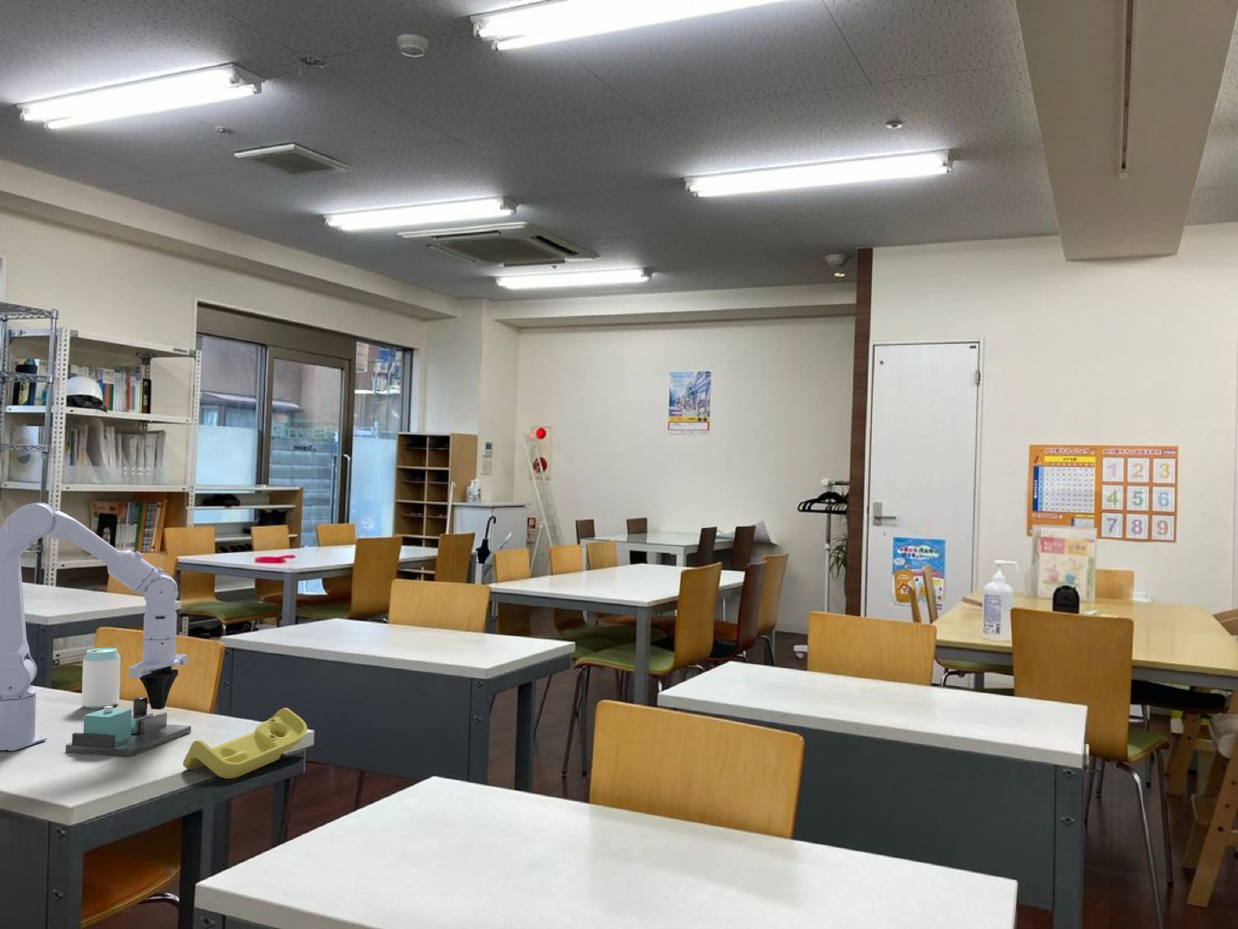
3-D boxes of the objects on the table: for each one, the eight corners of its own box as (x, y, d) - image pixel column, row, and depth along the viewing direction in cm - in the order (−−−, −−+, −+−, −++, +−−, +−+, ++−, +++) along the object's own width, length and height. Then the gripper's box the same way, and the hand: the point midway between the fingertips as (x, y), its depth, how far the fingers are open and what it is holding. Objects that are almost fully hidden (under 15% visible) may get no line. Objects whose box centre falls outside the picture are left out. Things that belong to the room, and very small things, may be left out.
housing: (83, 743, 170) (84, 709, 170) (106, 735, 176) (107, 702, 176) (107, 745, 169) (109, 711, 169) (131, 736, 175) (131, 704, 175)
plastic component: (230, 768, 154) (190, 734, 158) (217, 805, 156) (178, 771, 159) (318, 731, 172) (280, 702, 175) (305, 765, 173) (268, 735, 177)
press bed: (65, 751, 169) (66, 731, 169) (130, 728, 186) (131, 709, 186) (130, 756, 167) (131, 736, 167) (190, 732, 184) (191, 713, 184)
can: (85, 711, 199) (87, 653, 199) (78, 705, 204) (80, 649, 204) (122, 706, 203) (124, 650, 203) (114, 700, 208) (116, 646, 209)
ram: (115, 732, 177) (116, 702, 178) (134, 725, 183) (135, 696, 183) (134, 733, 177) (135, 703, 177) (153, 726, 182) (154, 697, 182)
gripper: (153, 644, 176) (151, 718, 175) (201, 633, 190) (199, 701, 189) (119, 643, 177) (117, 716, 176) (169, 631, 191) (167, 699, 191)
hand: (157, 708), depth 183 cm, fingers closed
